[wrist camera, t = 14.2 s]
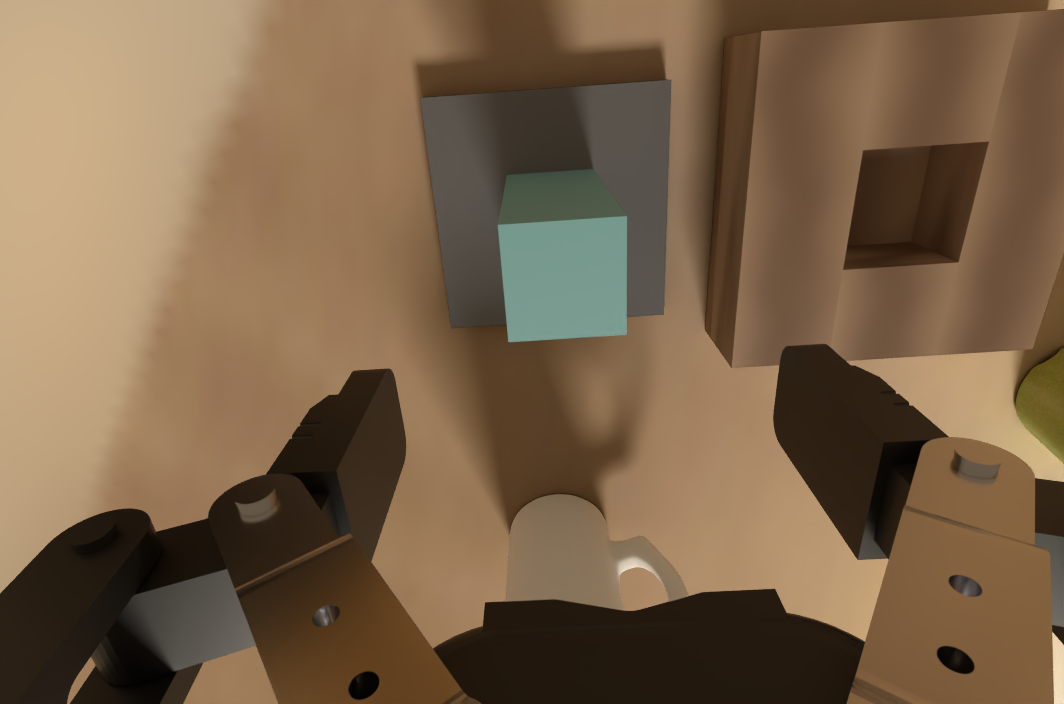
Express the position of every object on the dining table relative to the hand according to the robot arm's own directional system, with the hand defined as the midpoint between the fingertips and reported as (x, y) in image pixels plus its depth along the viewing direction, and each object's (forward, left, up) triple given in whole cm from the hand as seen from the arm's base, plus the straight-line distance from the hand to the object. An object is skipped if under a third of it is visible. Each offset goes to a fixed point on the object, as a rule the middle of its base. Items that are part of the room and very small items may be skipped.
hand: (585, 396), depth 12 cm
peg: (0, 0, -18) cm, 18 cm away
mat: (0, 0, -19) cm, 19 cm away
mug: (-1, +20, -19) cm, 27 cm away
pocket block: (-15, 0, -19) cm, 24 cm away
